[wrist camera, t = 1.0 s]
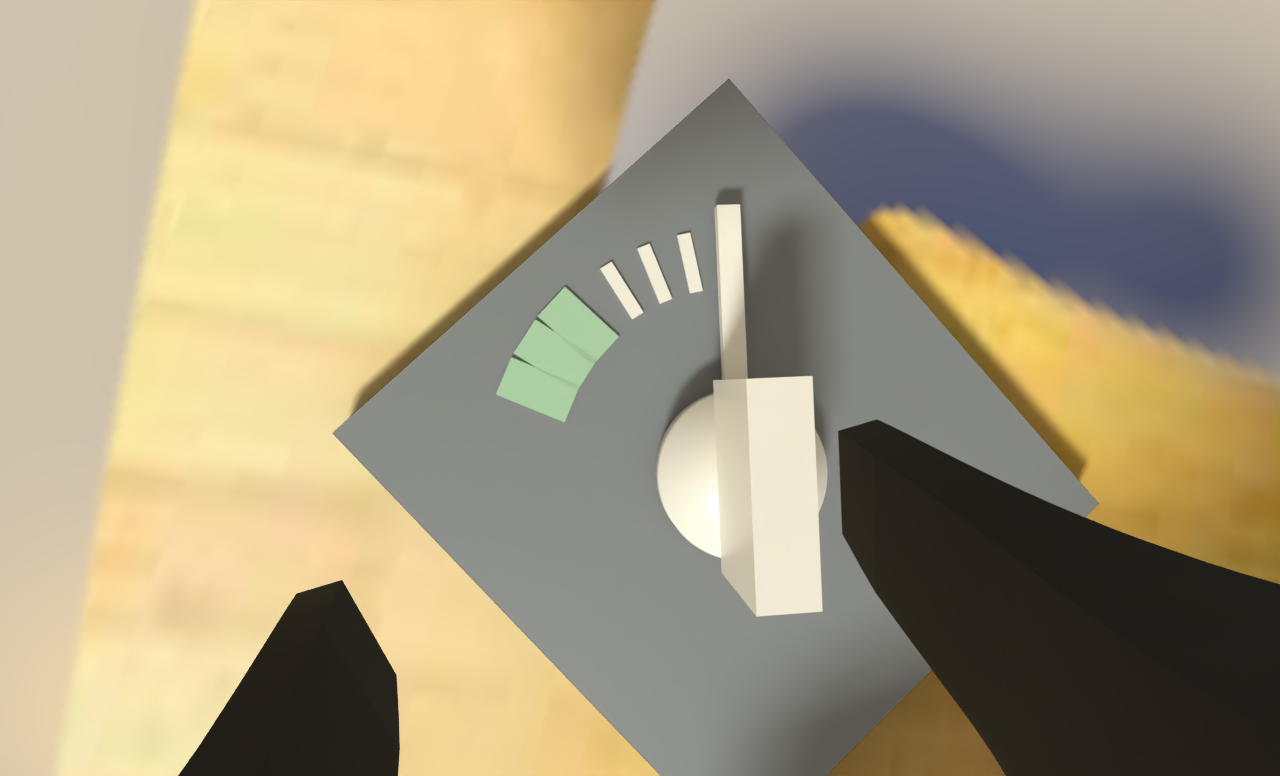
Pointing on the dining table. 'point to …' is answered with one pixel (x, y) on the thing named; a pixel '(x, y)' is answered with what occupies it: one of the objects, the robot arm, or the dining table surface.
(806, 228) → the dial board
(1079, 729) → the robot arm
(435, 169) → the dining table surface
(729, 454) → the knob
